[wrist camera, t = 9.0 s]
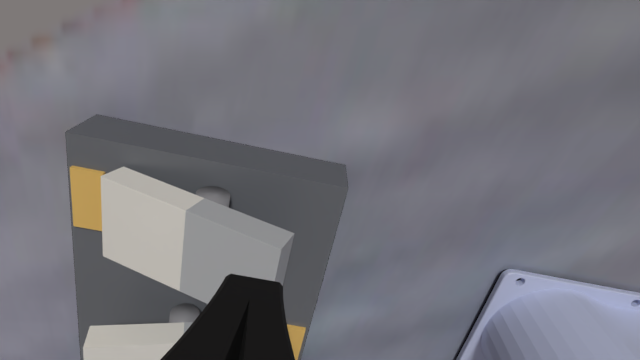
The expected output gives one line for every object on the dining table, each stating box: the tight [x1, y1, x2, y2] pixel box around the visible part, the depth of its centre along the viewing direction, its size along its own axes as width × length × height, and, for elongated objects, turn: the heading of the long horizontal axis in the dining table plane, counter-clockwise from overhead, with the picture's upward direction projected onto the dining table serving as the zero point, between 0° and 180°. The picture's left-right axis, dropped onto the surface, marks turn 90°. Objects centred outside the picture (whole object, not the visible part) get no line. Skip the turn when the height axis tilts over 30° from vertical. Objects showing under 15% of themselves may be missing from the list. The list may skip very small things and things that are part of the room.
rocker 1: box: [101, 167, 294, 304], centre depth 17 cm, size 8×4×3 cm, turn 78°
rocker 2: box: [83, 303, 200, 360], centre depth 20 cm, size 8×4×2 cm, turn 78°
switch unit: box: [65, 115, 348, 360], centre depth 22 cm, size 12×20×3 cm, turn 168°
